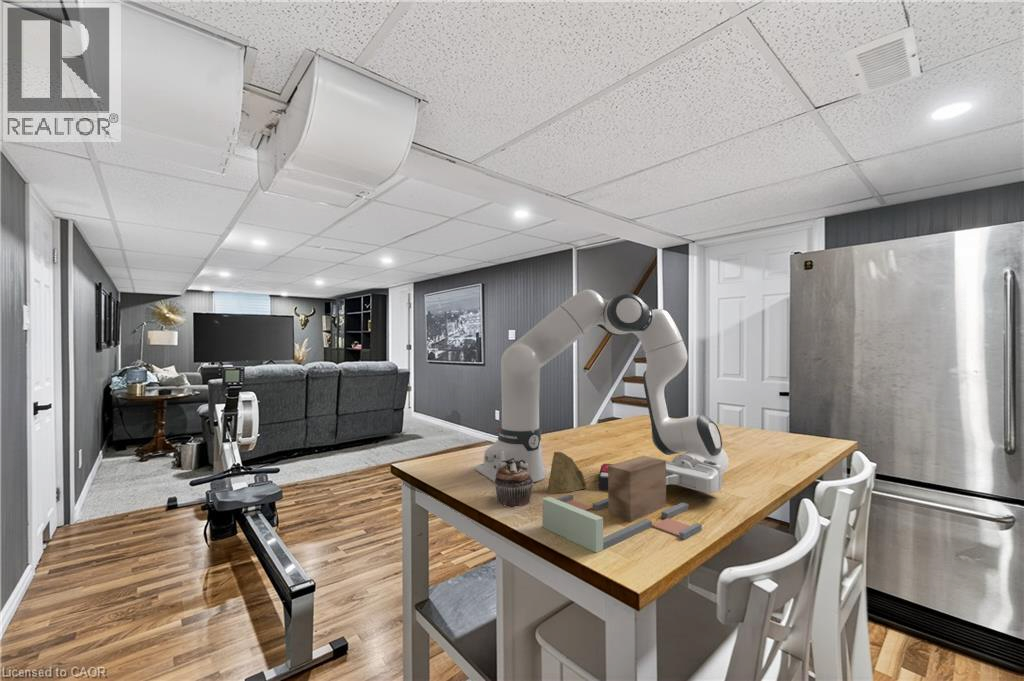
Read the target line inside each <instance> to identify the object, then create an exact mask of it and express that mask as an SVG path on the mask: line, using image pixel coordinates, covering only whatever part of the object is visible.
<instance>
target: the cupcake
mask: <svg viewBox="0 0 1024 681" xmlns="http://www.w3.org/2000/svg"><path fill="white" fill-rule="evenodd" d="M527 468H528V464H527V463H526V462H525V461H524V460H520V461H516V460H514V458H512V459H508V460H507V461H502V462H501V463H499V469H498V471H497V473H496V479H495V482H494V485H495V491H496V495H497V496H496V497H497V502H498V504H500V505H501V504H502V505H501V506H504V505H506V506H505V507H508V506H512V507H511V508H514V507H513V506H520V507H524V506H527V505H528V504H529V503H530V502H531V495H532V489H533V485H534V482H533V480H532V478H531V476H530V472H529V470H528V469H527ZM526 504H527V505H526ZM523 505H524V506H523Z"/></svg>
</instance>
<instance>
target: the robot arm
mask: <svg viewBox="0 0 1024 681" xmlns="http://www.w3.org/2000/svg"><path fill="white" fill-rule="evenodd" d="M595 326H597V327H599V328H600V329H602V330H604V331H605V332H607V333H609V334H611V335H613V336H622V335H627V334H633V335H635V336H636V337H637V338H638V339H639V341H640V343H641V345H642V346H641V347H642V349H643V352H644V354H645V358H646V359H645V360H646V369H645V371H644V372H643V375H642V381H643V387H644V393H645V398H646V404H647V408H648V414H649V417H650V418H649V419H650V424H651V438H652V443H653V444H654V446H655V447H656V449H657V450H659V451H660V452H661V453H662V454H664V455H666V456H671V455H675V454H678V455H675V457H673V459H672V461H669V460H665V461H666V486H668V485H676V486H679V487H682V488H685V489H690V490H694V491H697V492H701V493H705V494H713V493H717V492H719V491H721V490H722V485H723V475H724V474H725V473H726V471H727V469H728V467H729V463H730V462H729V456H728V454H727V452H726V451H725V449H723V440H722V435H721V432H720V429H719V426H718V425H717V424H716V423H715V422H714V421H713V420H712V419H711V418H710V417H708V416H706V415H704V414H696V415H690V416H685V417H680V418H673V419H672V418H671V417H670V416H669V413H668V408H667V403H666V398H665V387H666V385H667V384H668V383H669V382H670V381H671V380H673V379H674V378H675V377H677V376H678V375H679V374H680V373H681V372H682V371H683V370H684V369H685V367H686V364H687V362H688V350H687V348H686V345H685V343H684V340H683V337H682V335H681V333H680V330H679V329H678V327H677V325H676V322H675V321H674V319H673V318H672V316H671V314H670V313H669V312H668V311H667V310H665V309H661V308H654V309H652V307H651V306H649V305H647V304H646V303H645V302H644V301H643V299H641V298H640V297H639V296H637V295H635V294H633V293H629V292H628V293H620V294H618V295H616V296H614V297H613V298H611V299H605V298H603V297H602V296H601V295H600V294H599V293H598V292H597V291H595V290H592V289H583V290H581V291H580V292H578V293H576V294H574V295H573V296H571V297H570V298H568V299H567V300H565V301H564V302H562V303H561V304H559V305H558V306H557V307H556V308H555V309H554V310H553V311H551V312H550V313H549V314H548V315H546V316H545V317H544V318H543V319H541V320H540V321H539V322H538V323H536V325H535V326H533V327H532V328H530V330H528V331H527V332H526V333H525V334H523V335H522V336H521V337H520V338H519V339H517V340H516V341H515V342H513V343H512V344H511V345H510V346H509V347H507V348H506V349H505V350H504V352H503V354H502V356H501V361H500V379H501V380H500V382H501V383H500V384H501V388H500V389H501V427H499V428H496V434H497V433H499V434H498V436H497V440H496V441H495V442H493V444H491V445H490V446H488V447H487V448H486V450H485V451H484V455H483V463H481V464H479V465H477V466H475V470H476V471H477V472H479V473H481V475H483V476H485V477H486V478H488V479H489V480H491V481H492V482H493V483H495V479H496V473H497V471H498V469H499V463H501V462H502V461H507V460H508V459H512V458H514V460H516V461H520V460H524V461H525V462H526V463H527V464H528V468H527V469H528V470H529V472H530V476H531V478H532V480H533V483H535V482H539V481H542V480H544V479H545V478H546V473H545V472H546V466H544V458H543V448H542V444H541V441H542V431H541V427H540V395H541V394H540V392H541V391H540V389H541V387H540V386H541V368H542V367H544V366H545V365H546V364H548V363H549V362H550V361H551V360H553V359H554V358H556V357H557V356H559V355H560V354H561V353H563V352H564V351H565V350H566V349H567V348H569V347H570V346H572V345H573V344H574V343H575V342H576V341H578V340H579V339H580V338H581V337H583V336H584V335H585V334H586V333H588V331H589V330H591V329H593V328H594V327H595ZM680 453H681V454H680Z"/></svg>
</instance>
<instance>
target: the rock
mask: <svg viewBox="0 0 1024 681" xmlns="http://www.w3.org/2000/svg"><path fill="white" fill-rule="evenodd" d="M547 487H548V488H547V493H548V495H553V494H566V493H570V492H576V491H579V490H584V489H587V488H588V486H587V481H586V480H585V477H584V473H583V472H582V471H581V470H580V469H579V467H578V466H577V464H576V462H574V459H572V457H570V456H568V455H567V454H565V453H564V452H562V451H554V452H553V457H552V461H551V468H550V474H549V478H548V486H547Z"/></svg>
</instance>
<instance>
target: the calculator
mask: <svg viewBox="0 0 1024 681" xmlns="http://www.w3.org/2000/svg"><path fill="white" fill-rule="evenodd" d="M609 465H613V463H602V465H601V466H600V470H599V474H598V491H606V490H608V466H609Z"/></svg>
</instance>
